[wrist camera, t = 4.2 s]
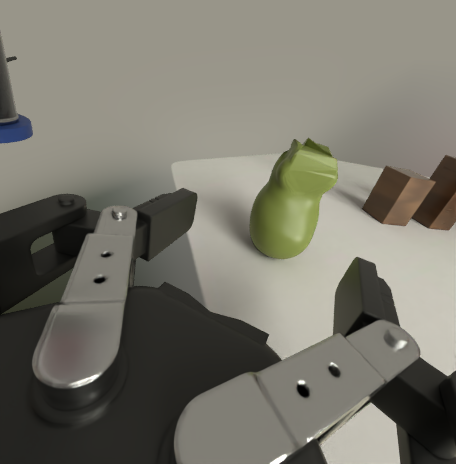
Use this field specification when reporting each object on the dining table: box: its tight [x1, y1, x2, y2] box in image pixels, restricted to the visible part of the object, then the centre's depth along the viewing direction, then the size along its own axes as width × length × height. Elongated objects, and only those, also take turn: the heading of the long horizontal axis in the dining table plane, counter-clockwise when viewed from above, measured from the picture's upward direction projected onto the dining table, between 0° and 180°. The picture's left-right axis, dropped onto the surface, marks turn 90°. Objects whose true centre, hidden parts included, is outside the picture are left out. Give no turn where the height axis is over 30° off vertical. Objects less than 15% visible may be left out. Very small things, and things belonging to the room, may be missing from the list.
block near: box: [362, 166, 435, 226], centre depth 36 cm, size 4×4×7 cm
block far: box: [412, 155, 456, 230], centre depth 38 cm, size 4×4×10 cm
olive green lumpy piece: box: [250, 138, 338, 259], centre depth 20 cm, size 6×5×10 cm
